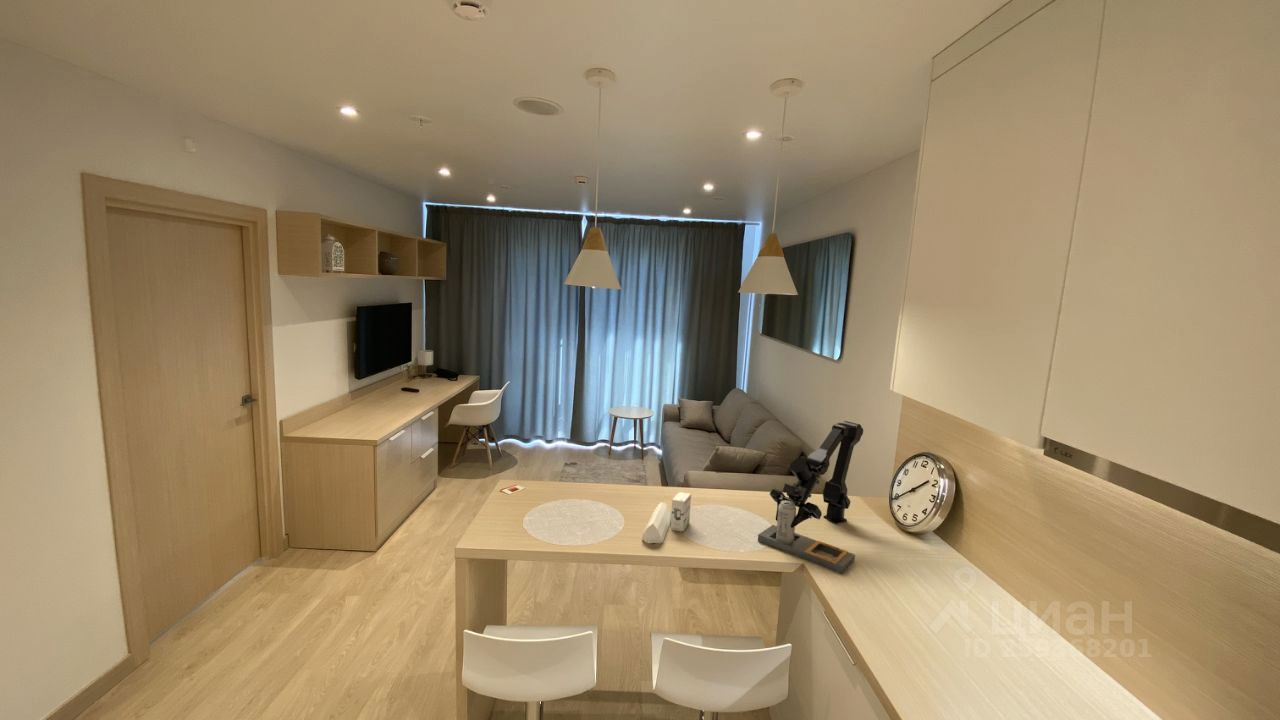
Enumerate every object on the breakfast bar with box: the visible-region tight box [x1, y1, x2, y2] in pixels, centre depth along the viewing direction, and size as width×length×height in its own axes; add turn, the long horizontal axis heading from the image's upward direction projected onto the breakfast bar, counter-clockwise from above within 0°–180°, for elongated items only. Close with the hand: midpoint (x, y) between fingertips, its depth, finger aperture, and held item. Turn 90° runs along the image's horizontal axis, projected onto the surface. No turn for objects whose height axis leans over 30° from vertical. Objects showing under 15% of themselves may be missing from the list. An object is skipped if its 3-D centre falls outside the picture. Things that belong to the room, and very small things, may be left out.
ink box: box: [670, 491, 692, 532], centre depth 191 cm, size 9×5×12 cm, turn 157°
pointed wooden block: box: [641, 501, 672, 544], centre depth 188 cm, size 7×7×24 cm
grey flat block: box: [757, 524, 856, 575], centre depth 176 cm, size 30×11×3 cm, turn 48°
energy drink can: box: [775, 500, 797, 545], centre depth 180 cm, size 6×6×15 cm
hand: (783, 523), depth 179 cm, fingers closed on energy drink can, 6 cm apart
